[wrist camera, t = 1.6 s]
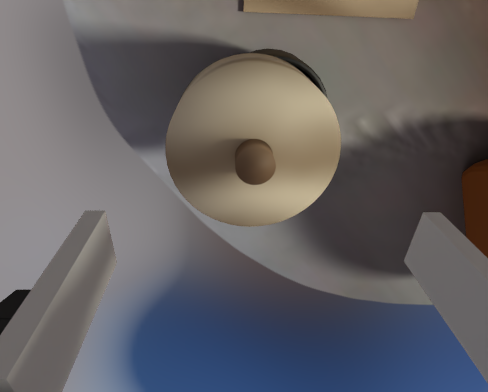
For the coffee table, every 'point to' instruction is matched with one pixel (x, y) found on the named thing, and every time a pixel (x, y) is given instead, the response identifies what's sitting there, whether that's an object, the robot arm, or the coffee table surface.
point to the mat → (336, 7)
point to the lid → (252, 141)
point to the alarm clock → (476, 204)
